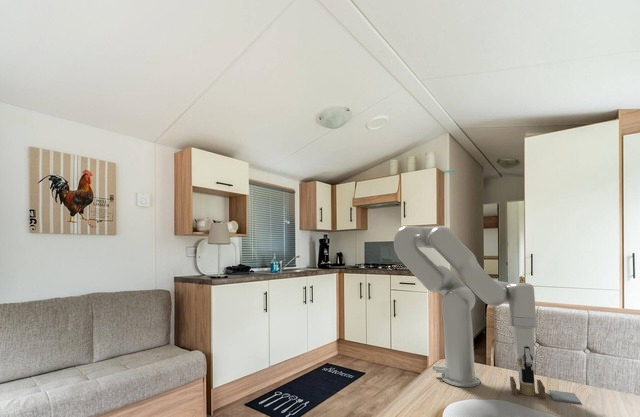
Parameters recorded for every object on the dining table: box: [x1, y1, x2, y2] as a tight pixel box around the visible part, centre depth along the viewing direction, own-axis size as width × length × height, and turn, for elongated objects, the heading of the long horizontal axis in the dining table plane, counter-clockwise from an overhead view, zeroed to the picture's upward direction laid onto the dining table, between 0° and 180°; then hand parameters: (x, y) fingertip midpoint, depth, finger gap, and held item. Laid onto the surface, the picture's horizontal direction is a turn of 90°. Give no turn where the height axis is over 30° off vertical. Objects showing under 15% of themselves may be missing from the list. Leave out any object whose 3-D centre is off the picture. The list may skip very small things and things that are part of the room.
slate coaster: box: [547, 389, 582, 405], centre depth 111 cm, size 7×7×1 cm
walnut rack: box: [509, 376, 547, 401], centre depth 115 cm, size 9×7×4 cm
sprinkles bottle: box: [517, 351, 536, 397], centre depth 115 cm, size 5×5×14 cm
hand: (526, 378), depth 115 cm, fingers open, 5 cm apart
